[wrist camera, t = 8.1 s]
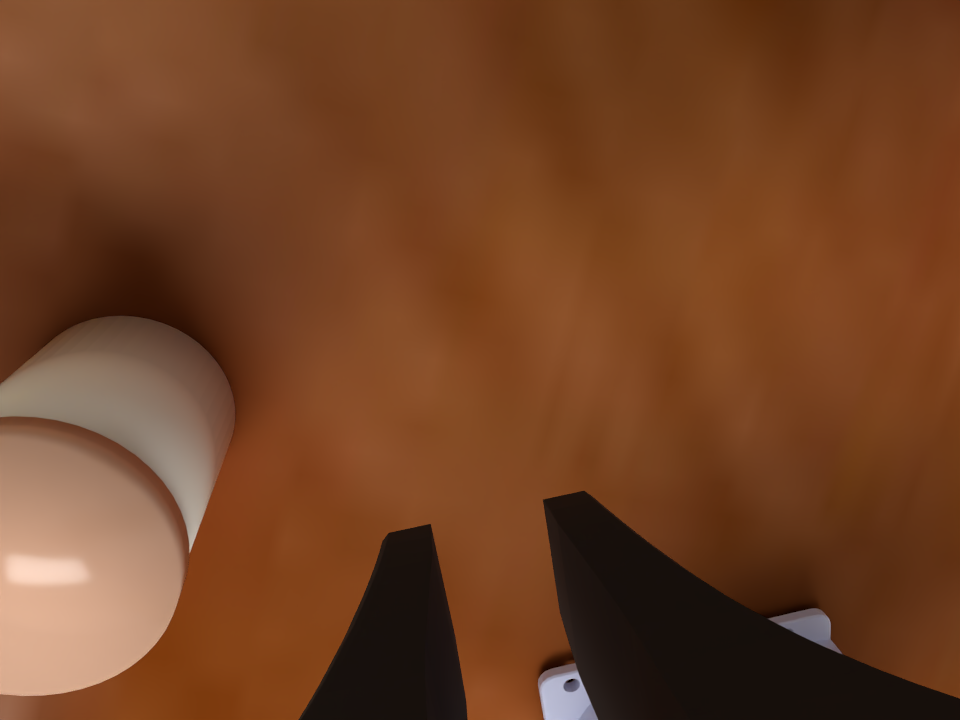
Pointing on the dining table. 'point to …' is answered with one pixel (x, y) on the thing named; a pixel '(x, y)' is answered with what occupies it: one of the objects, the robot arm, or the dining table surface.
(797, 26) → the dining table surface
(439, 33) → the dining table surface
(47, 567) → the cream jar
